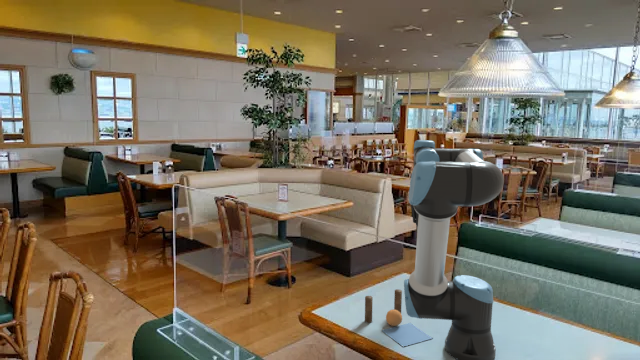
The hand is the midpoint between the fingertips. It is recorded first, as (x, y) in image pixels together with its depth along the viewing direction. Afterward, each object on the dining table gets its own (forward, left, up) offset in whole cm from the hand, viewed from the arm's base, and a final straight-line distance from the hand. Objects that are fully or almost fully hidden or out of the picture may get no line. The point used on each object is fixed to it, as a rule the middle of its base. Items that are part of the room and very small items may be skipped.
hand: (421, 242), depth 173 cm
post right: (-4, +13, -24) cm, 28 cm away
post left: (-4, +26, -24) cm, 36 cm away
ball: (-11, +19, -22) cm, 31 cm away
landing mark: (-18, +19, -24) cm, 36 cm away
